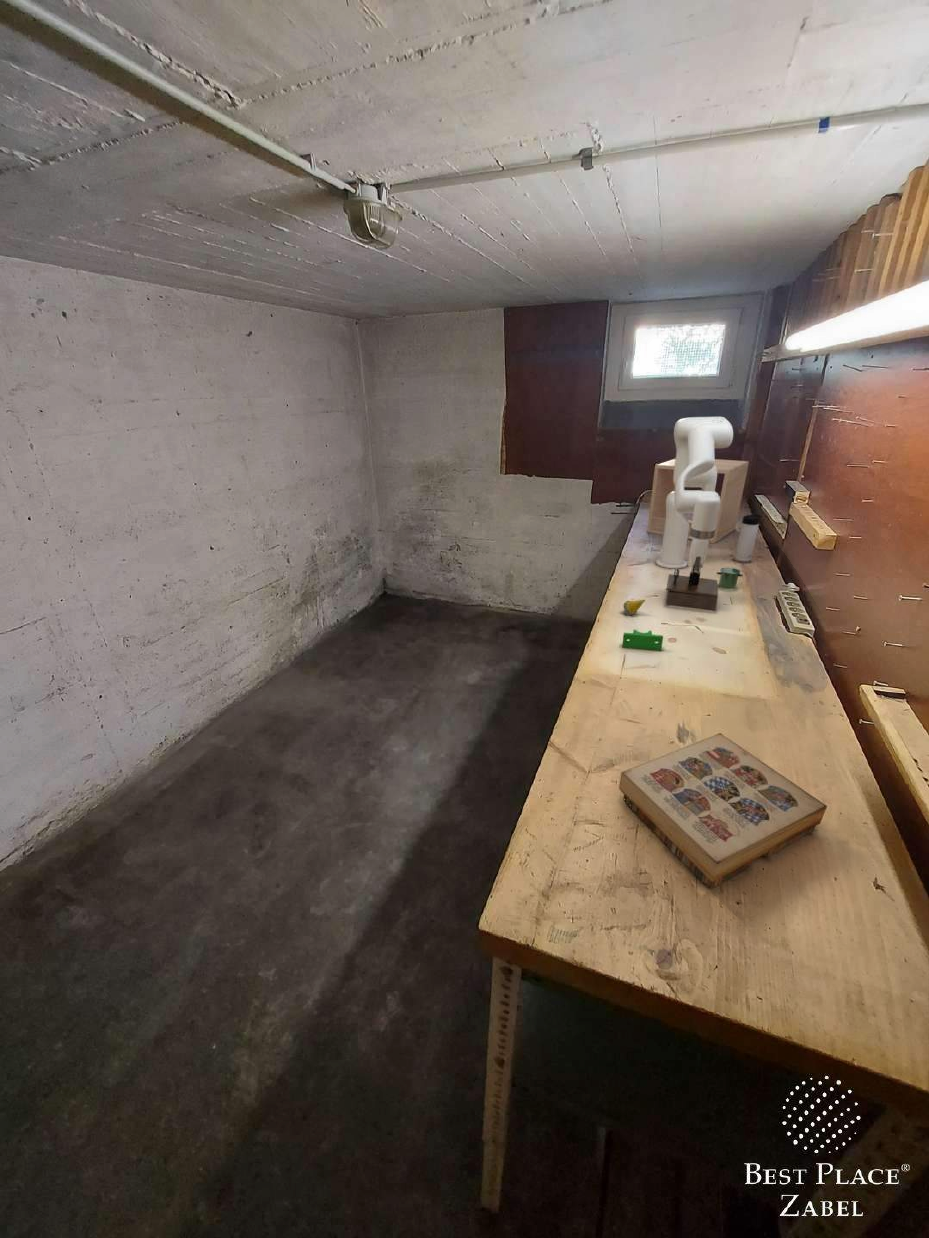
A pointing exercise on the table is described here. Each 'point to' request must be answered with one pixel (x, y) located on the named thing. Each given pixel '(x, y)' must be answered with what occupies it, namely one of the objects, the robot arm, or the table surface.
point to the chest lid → (692, 585)
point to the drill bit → (632, 607)
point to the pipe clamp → (642, 640)
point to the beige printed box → (719, 806)
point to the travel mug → (747, 538)
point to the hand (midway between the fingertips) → (693, 583)
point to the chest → (691, 600)
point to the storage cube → (728, 499)
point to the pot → (729, 577)
